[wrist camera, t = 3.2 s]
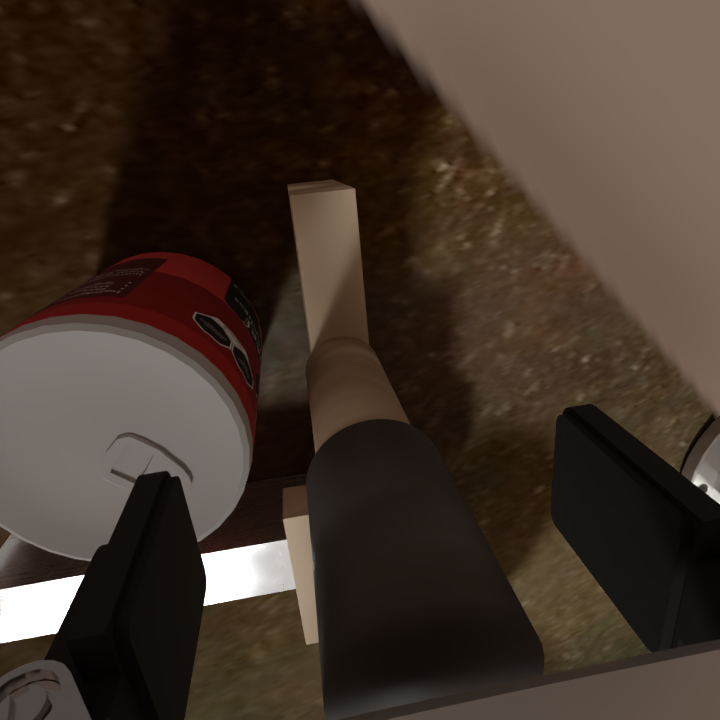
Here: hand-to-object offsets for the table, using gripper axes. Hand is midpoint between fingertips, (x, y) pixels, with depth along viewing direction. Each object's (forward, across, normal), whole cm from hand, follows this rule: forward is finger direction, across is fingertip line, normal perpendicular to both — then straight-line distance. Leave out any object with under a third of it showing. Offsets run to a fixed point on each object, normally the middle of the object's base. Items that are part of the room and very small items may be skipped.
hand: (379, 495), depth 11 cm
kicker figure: (+14, 0, +3) cm, 14 cm away
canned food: (+15, +7, 0) cm, 16 cm away
